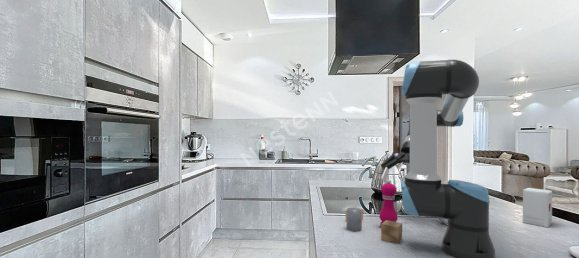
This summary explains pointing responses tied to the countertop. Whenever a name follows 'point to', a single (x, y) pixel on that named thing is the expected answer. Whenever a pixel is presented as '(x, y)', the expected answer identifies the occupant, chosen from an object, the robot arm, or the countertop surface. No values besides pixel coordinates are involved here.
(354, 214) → the charcoal canister
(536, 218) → the supplement box
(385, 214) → the pepper mill
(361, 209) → the terracotta brick
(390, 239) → the walnut block
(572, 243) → the countertop surface
